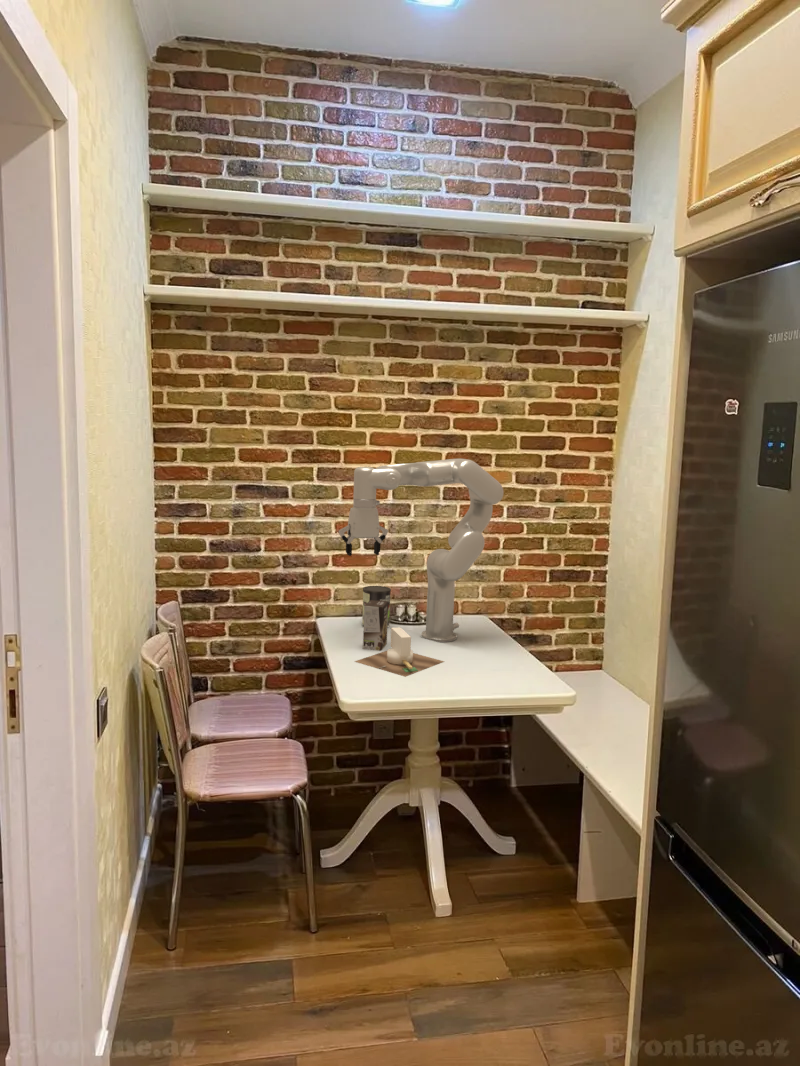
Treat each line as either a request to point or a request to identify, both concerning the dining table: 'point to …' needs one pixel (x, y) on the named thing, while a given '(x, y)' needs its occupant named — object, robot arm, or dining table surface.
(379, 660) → the dial board
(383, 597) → the coffee can
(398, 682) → the dining table surface
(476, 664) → the dining table surface
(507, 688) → the dining table surface
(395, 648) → the dial knob
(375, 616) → the coffee box
